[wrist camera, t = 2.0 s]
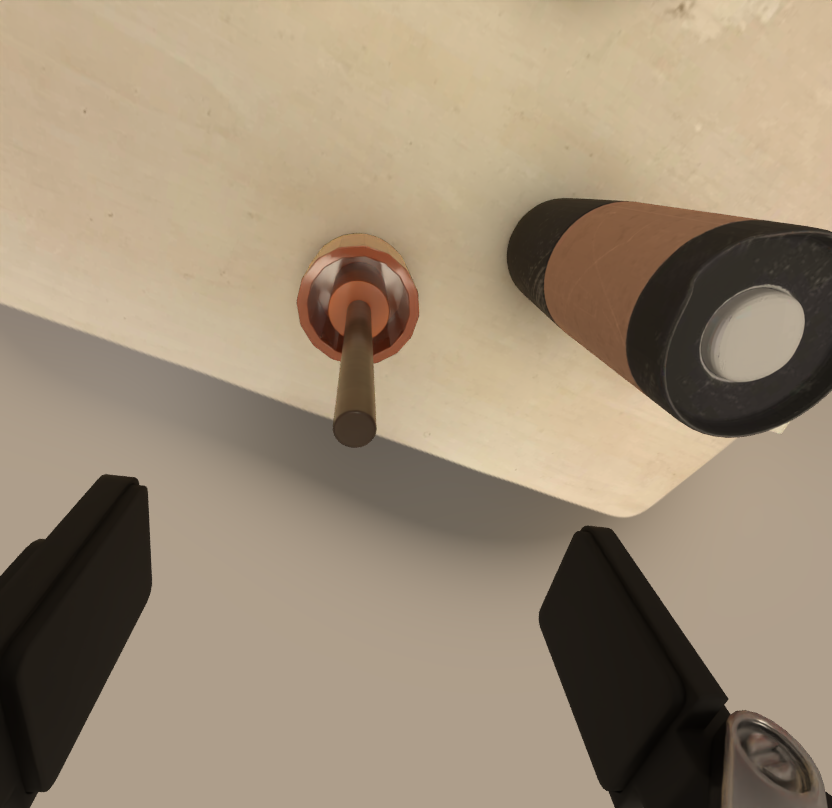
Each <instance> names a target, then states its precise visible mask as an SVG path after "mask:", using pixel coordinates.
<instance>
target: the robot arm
mask: <svg viewBox="0 0 832 808" xmlns="http://www.w3.org/2000/svg"><path fill="white" fill-rule="evenodd" d="M151 573H152V571H151V549H150V528H149V508H148V491H147V487H146V486H141V485H139V481H138V479H137V478H135V477H127V476H117V475H108V474H105V475H102V476H101V477H100V478H99V479H98V480H97V481H96V482H95V483H94V484H93V486H92V487H91V488H90V489H89V490H88V491H87V492H86V493H85V495H84V496H83V497H82V498H81V499H80V500H79V501H78V503H77V504H76V505H75V506H74V507H73V508H72V509H71V511H70V512H69V513H68V514H67V515H66V516H65V517H64V519H63V520H62V521H61V522H60V523H59V524H58V525H57V527H56V528H55V529H54V530H53V531H52V532H51V534H50V535H49V536H48V537H47V538H46V539H38V540H36V541H34V542H32V543H31V544H30V545H29V546H28V547H26V548H25V550H24V551H23V552H22V553H21V554H20V555H19V556H18V557H17V558H16V559H15V561H14V562H13V563H12V564H11V565H10V566H9V567H8V568H7V569H6V570H5V572H4V573H3V574H2V575H1V576H0V808H30V806H31V805H32V803H33V801H34V799H35V797H36V795H37V793H38V792H46V791H48V790H49V789H50V788H51V786H52V785H53V784H54V782H55V781H56V779H57V777H58V775H59V773H60V771H61V769H62V767H63V765H64V763H65V761H66V759H67V757H68V755H69V754H70V752H71V750H72V748H73V746H74V744H75V742H76V740H77V738H78V736H79V734H80V732H81V730H82V728H83V726H84V724H85V722H86V720H87V718H88V716H89V714H90V713H91V711H92V709H93V707H94V704H95V702H96V701H97V699H98V697H99V695H100V693H101V691H102V689H103V687H104V685H105V683H106V681H107V679H108V677H109V675H110V673H111V671H112V669H113V668H114V665H115V664H116V662H117V660H118V658H119V656H120V654H121V652H122V650H123V648H124V646H125V644H126V642H127V640H128V638H129V636H130V634H131V632H132V630H133V628H134V626H135V625H136V622H137V620H138V618H139V617H140V615H141V613H142V611H143V609H144V607H145V605H146V603H147V601H148V598H149V596H150V592H151V586H152V574H151ZM539 624H540V628H541V631H542V633H543V636H544V638H545V641H546V644H547V646H548V649H549V652H550V654H551V656H552V660H553V662H554V665H555V667H556V670H557V673H558V675H559V678H560V680H561V683H562V686H563V689H564V691H565V693H566V696H567V699H568V702H569V704H570V707H571V710H572V712H573V715H574V717H575V720H576V722H577V725H578V728H579V731H580V733H581V736H582V739H583V741H584V744H585V746H586V749H587V752H588V754H589V757H590V760H591V762H592V765H593V767H594V770H595V772H596V775H597V778H598V780H599V782H600V784H601V786H602V787H603V789H605V790H606V791H609V794H610V796H611V799H612V801H613V804H614V807H615V808H832V796H831V795H829V794H828V793H827V792H825V788H824V784H823V780H822V777H821V774H820V772H819V770H818V768H817V767H816V765H815V763H814V762H813V760H812V758H811V757H810V755H809V754H808V753H807V752H806V751H805V749H804V748H803V747H802V746H801V744H800V743H799V742H798V741H797V740H795V739H794V738H793V737H792V736H791V735H790V734H789V733H788V732H787V731H786V730H784V729H783V728H782V727H780V726H779V725H777V724H776V723H775V722H773V721H772V720H770V719H768V718H766V717H764V716H762V715H760V714H758V713H754V712H750V711H746V710H742V711H735V712H734V713H732V714H730V713H729V711H728V710H727V709H726V707H725V706H724V704H725V703H726V702H727V700H728V697H727V696H726V695H725V693H724V692H723V690H722V689H721V687H720V686H719V684H718V683H717V681H716V680H715V678H714V677H713V676H712V674H711V673H710V671H709V670H708V668H707V667H706V665H705V664H704V663H703V661H702V659H701V658H700V657H699V655H698V654H697V652H696V651H695V649H694V648H693V646H692V645H691V643H690V642H689V641H688V639H687V638H686V636H685V635H684V633H683V632H682V630H681V629H680V628H679V626H678V624H677V623H676V622H675V620H674V619H673V617H672V616H671V614H670V613H669V611H668V610H667V608H666V607H665V606H664V604H663V603H662V601H661V600H660V598H659V597H658V595H657V594H656V592H655V591H654V590H653V588H652V587H651V585H650V584H649V582H648V581H647V579H646V578H645V576H644V575H643V573H642V572H641V571H640V569H639V568H638V566H637V565H636V563H635V562H634V561H633V559H632V557H631V556H630V554H629V553H628V552H627V550H626V549H625V547H624V546H623V544H622V543H621V541H620V540H619V539H618V537H617V536H616V534H615V533H614V531H613V530H612V529H610V528H604V527H595V526H584V527H583V528H582V529H581V530H580V531H577V532H576V533H575V534H574V535H573V538H572V540H571V542H570V544H569V547H568V549H567V551H566V553H565V555H564V558H563V560H562V562H561V564H560V566H559V569H558V571H557V573H556V575H555V577H554V580H553V582H552V584H551V586H550V589H549V591H548V593H547V595H546V597H545V600H544V602H543V604H542V606H541V609H540V611H539Z"/></svg>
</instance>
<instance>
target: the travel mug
mask: <svg viewBox="0 0 832 808" xmlns="http://www.w3.org/2000/svg"><path fill="white" fill-rule="evenodd" d="M507 263H508V269H509V273H510V275H511V278H512V280H513V282H514V283H515V285H516V286H517V287H518V288H519V290H520V291H521V292H522V293H523V294H524V295H525V296H526V297H527V298H528V299H529V300H531V301H532V302H533V303H534V304H535V305H536V306H537V307H538V308H539V309H540V310H541V311H542V312H543V313H545V314H546V315H547V316H548V317H549V318H550V319H551V320H552V321H553V322H554V323H555V324H556V325H557V326H559V327H560V328H561V329H562V330H563V331H564V332H565V333H567V334H568V335H569V336H571V337H572V338H573V339H574V340H576V341H577V342H578V343H580V344H581V345H582V346H583V347H585V348H586V349H587V350H589V351H590V352H591V353H592V354H594V355H595V356H596V357H598V358H599V359H600V360H601V361H603V362H604V363H605V364H607V365H608V366H609V367H610V368H612V369H613V370H614V371H616V372H617V373H618V374H619V375H621V376H622V377H623V378H625V379H626V380H627V381H628V382H630V383H631V384H632V385H634V386H635V387H636V388H637V389H639V390H640V391H641V392H643V393H644V394H645V395H646V396H648V397H649V398H650V399H651V400H653V401H654V402H655V403H657V404H658V405H659V406H660V407H662V408H663V409H664V410H666V411H667V412H668V413H669V414H671V415H672V416H673V417H675V418H676V419H677V420H678V421H680V422H682V423H683V424H685V425H686V426H688V427H690V428H691V429H693V430H696V431H698V432H701V433H703V434H707V435H711V436H716V437H726V438H731V437H744V436H751V435H755V434H759V433H763V432H766V431H769V430H772V429H774V428H777V427H779V426H781V425H783V424H786V423H788V422H790V421H791V420H793V419H795V418H797V417H798V416H800V415H802V414H803V413H805V412H806V411H808V410H809V409H810V408H812V407H813V406H815V405H816V404H817V403H818V402H819V401H821V400H822V399H823V398H824V397H825V396H827V395H828V394H829V392H831V391H832V232H831V231H828V230H824V229H819V228H813V227H808V226H801V225H794V224H787V223H780V222H772V221H765V220H758V219H751V218H744V217H737V216H730V215H723V214H716V213H709V212H702V211H695V210H688V209H681V208H674V207H667V206H660V205H652V204H645V203H638V202H629V201H612V200H594V199H573V198H561V199H553V200H550V201H546V202H544V203H542V204H540V205H538V206H536V207H534V208H533V209H532V210H531V211H529V212H528V213H527V214H526V215H525V216H524V217H523V218H522V219H521V221H520V222H519V223H518V225H517V226H516V228H515V230H514V232H513V234H512V236H511V239H510V241H509V246H508V252H507Z"/></svg>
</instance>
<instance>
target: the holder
mask: <svg viewBox="0 0 832 808" xmlns="http://www.w3.org/2000/svg"><path fill="white" fill-rule="evenodd" d="M355 262H363V263H367V264H370V265H372V266H373V267H375V268H376V269H377V270H378V271H379V272H380V273H381V275H382V277H383V279H384V282H385V286H386V292H387V297H388V303H389V312H390V313H389V319H388V322H387V324H386V326H385V328H384V329H383V330H382V331H381V332H380V333H379V334H378V335H376V336H375V337H373V338H372V344H373V363H378V362H380V361H382V360H384V359H386V358H388V357H390V356H392V355H394V354H396V353H397V352H398V351H399V350H400V349H401V348H402V347H403V346H404V345H405V344H406V342H407V341H408V340H409V339H410V338H411V336H412V334H413V331H414V329H415V326H416V323H417V320H418V317H419V301H418V291H417V289H416V286H415V284H414V282H413V280H412V277H411V275H410V273H409V271H408V269H407V267H406V264H405V262H404V260H403V258H402V256H401V255H400V254H399V253H398V252H397V251H396V250H395V249H394V248H393V247H392V246H391V245H390V244H388V243H387V242H385V241H384V240H382V239H380V238H378V237H376V236H372V235H369V234H362V233H353V234H347V235H343V236H340V237H338V238H335V239H333V240H332V241H330V242H329V243H327V244H326V245H325V246H323V248H322V249H321V250H320V251H319V252H318V254H317V255H316V257H315V258H314V259H313V260H312V262H311V264H310V265H309V267H308V269H307V271H306V273H305V274H304V276H303V278H302V281H301V285H300V289H299V293H298V297H297V307H298V313H299V319H300V324H301V327H302V328H303V330H304V331H305V333H306V334H307V336H308V338H309V339H310V341H311V342H312V344H313V345H314V346H315V347H316V348H318V349H319V350H320V351H322V352H323V353H324V354H326V355H327V356H328V357H330V358H331V359H334V360H337V361H341V356H342V347H343V339H344V336H343V335H341V334H340V333H339V332H337V331H336V329H335V328H334V327H333V325H332V324H331V322H330V319H329V315H328V304H329V300H330V296H331V292H332V289H333V285H334V281H335V278H336V276H337V274H338V273H339V271H340V270H341V269H342V268H343V267H345V266H346V265H348V264H351V263H355Z"/></svg>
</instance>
